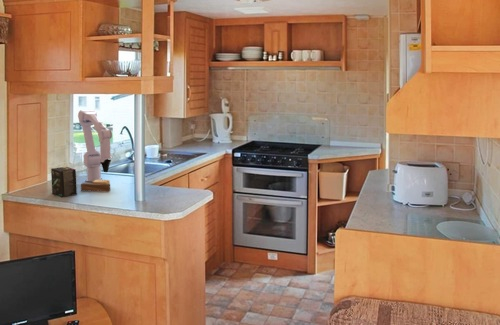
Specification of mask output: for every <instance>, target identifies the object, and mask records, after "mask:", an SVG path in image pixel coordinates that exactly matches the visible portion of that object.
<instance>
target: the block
mask: <svg viewBox="0 0 500 325" xmlns="http://www.w3.org/2000/svg"><path fill="white" fill-rule="evenodd" d="M91 182H92V183H102V184H110V185H111V183H110V179H101V180H95V181H91Z"/></svg>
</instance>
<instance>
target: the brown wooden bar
mask: <svg viewBox="0 0 500 325" xmlns="http://www.w3.org/2000/svg"><path fill="white" fill-rule="evenodd" d="M110 191H111V183H110V184H102V183H91V182H82V183H81V184H80V192H105V193H106V192H107V193H109V192H110Z"/></svg>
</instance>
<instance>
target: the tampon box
mask: <svg viewBox="0 0 500 325" xmlns="http://www.w3.org/2000/svg"><path fill="white" fill-rule="evenodd" d="M50 172H51V175H50V176H51V191H52V192H51V194H52V195H54V196H57V197H60V198H65V197H70V196H71V197H72V196H77V195H78V191H77V188H78V187H77V170H76V169H75V168H72V167H68V166H63V167H54V168H50Z"/></svg>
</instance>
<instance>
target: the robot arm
mask: <svg viewBox="0 0 500 325" xmlns="http://www.w3.org/2000/svg"><path fill="white" fill-rule="evenodd" d="M77 117H78V123H79V125H80V126H82V132H83V137H84V141H85V147H86V152H85V153H84V154H83V165H84V166H85V167H86V168H87V169H86V172H87V173H86V175H87V176H86V178H87V179H86V180H85V182H93V181H95V180H103V177H102V176H101V171H102V170H103V173H108V172H109V167H110V165H111V162H112V159H113V156H112V155H111V139H112V138H113V133H112V130H111V129H110V128H107V127H106V126H105V124H104V123H103V122H101V121H100V120H99V119H98V114H97V111H96V110H95V109H91V110H89V109H87V110H86V109H85V110H79V111H78V114H77ZM92 125H93V127H94V128H93V129H94V130H95V131H96V133H97V136H98V141H99V146H100V147H99V150H100V152H99V151H97V150H96V147H95V142H94V137H93V131H92ZM101 166H102V170H101Z"/></svg>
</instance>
